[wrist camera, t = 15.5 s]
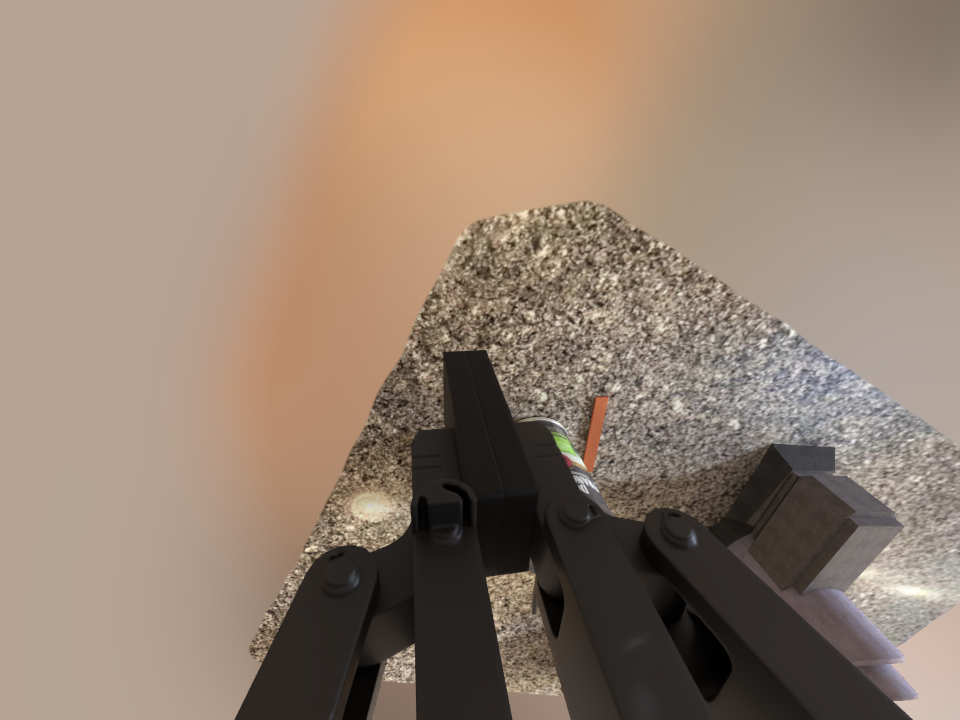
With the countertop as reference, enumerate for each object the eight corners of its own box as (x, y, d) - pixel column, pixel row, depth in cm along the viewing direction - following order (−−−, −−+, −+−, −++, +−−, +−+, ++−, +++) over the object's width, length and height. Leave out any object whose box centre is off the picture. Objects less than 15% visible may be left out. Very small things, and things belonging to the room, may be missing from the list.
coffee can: (501, 412, 48) (534, 504, 36) (579, 419, 51) (635, 507, 39) (482, 477, 53) (506, 579, 40) (555, 481, 55) (598, 577, 43)
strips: (456, 405, 47) (456, 407, 47) (607, 395, 50) (608, 397, 50) (456, 483, 52) (456, 484, 52) (592, 470, 55) (592, 471, 55)
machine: (750, 576, 75) (887, 747, 54) (676, 578, 71) (791, 763, 50) (845, 448, 62) (1075, 608, 41) (760, 443, 58) (964, 615, 37)
